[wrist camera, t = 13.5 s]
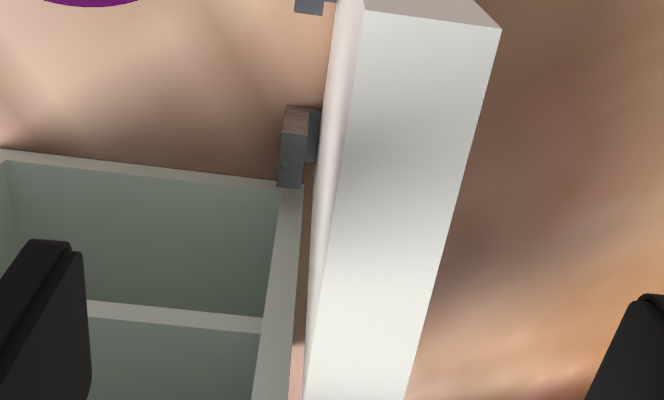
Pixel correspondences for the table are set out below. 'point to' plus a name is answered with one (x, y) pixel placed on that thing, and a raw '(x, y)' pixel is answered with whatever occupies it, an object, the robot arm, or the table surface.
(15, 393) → the robot arm
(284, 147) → the hinge clips
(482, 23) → the door
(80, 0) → the mounting bracket
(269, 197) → the cabinet
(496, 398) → the table surface
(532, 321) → the table surface
